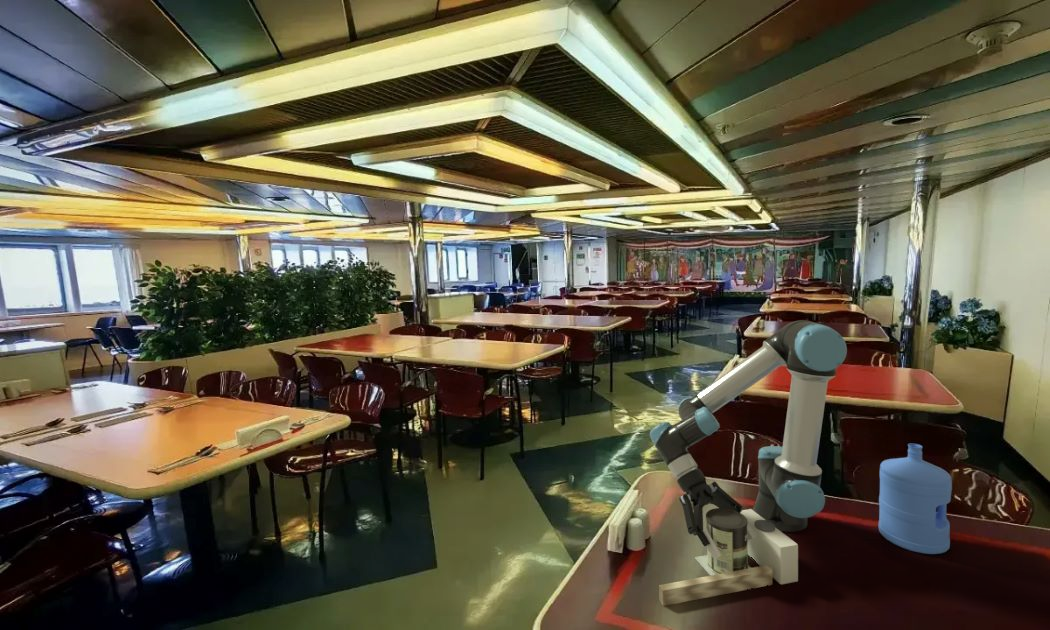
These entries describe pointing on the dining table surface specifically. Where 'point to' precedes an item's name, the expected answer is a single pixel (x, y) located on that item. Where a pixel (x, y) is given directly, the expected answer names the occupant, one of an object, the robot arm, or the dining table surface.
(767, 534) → the end cabinet
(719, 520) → the coffee can
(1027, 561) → the dining table surface
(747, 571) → the guide rail
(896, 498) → the water jug
